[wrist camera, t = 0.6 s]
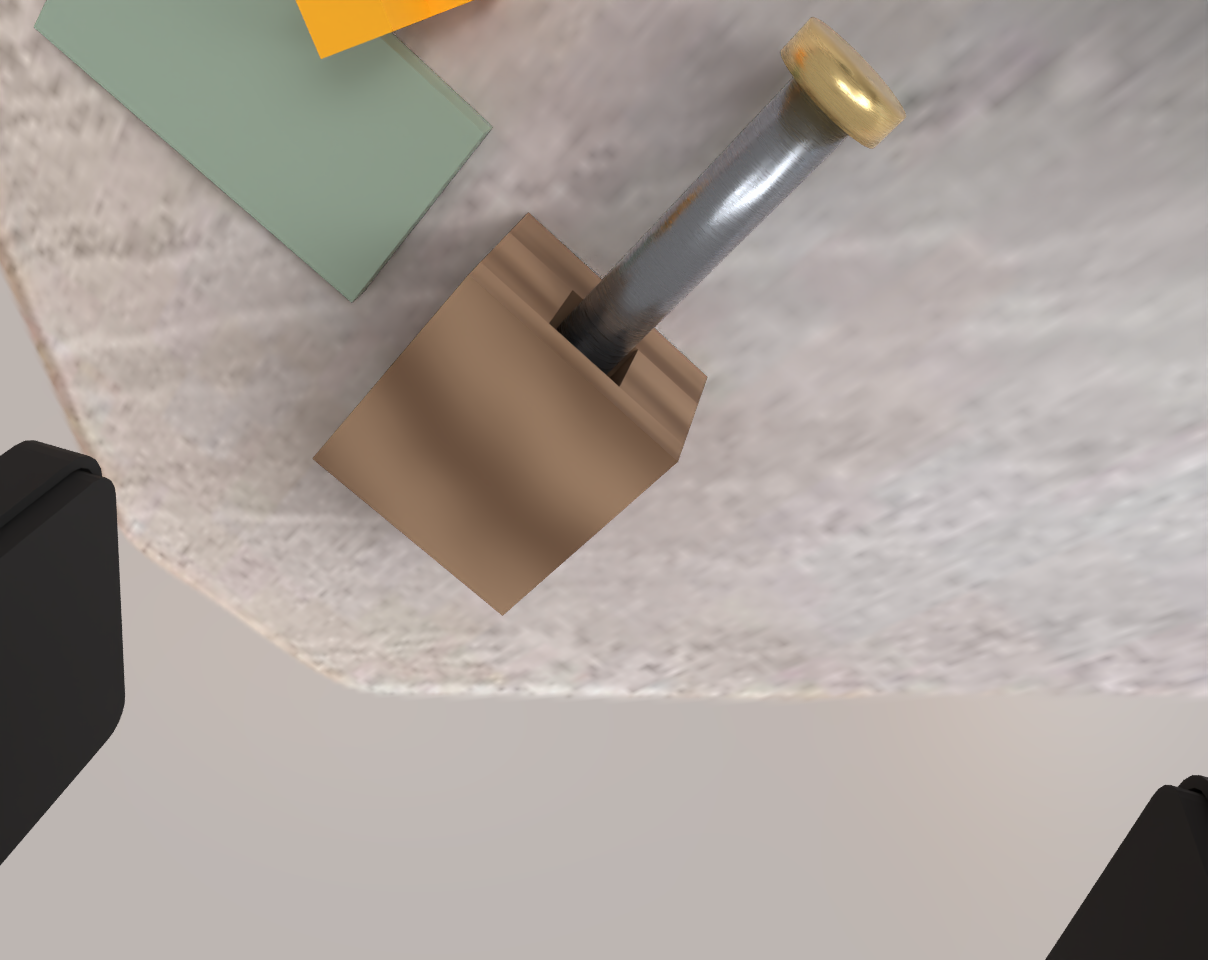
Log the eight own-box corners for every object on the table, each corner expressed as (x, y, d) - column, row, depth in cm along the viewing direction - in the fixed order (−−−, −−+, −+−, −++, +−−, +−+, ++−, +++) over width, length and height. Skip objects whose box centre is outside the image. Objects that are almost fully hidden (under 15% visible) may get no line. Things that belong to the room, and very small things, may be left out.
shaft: (815, 8, 34) (805, 28, 30) (905, 102, 34) (906, 131, 31) (517, 332, 41) (484, 376, 38) (596, 402, 42) (570, 452, 39)
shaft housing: (528, 212, 41) (468, 274, 35) (707, 377, 43) (677, 461, 37) (384, 380, 46) (312, 458, 40) (549, 521, 48) (502, 615, 42)
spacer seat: (152, -190, 37) (135, -191, 36) (493, 127, 40) (484, 133, 39) (51, 23, 42) (33, 27, 41) (362, 293, 44) (351, 302, 43)
